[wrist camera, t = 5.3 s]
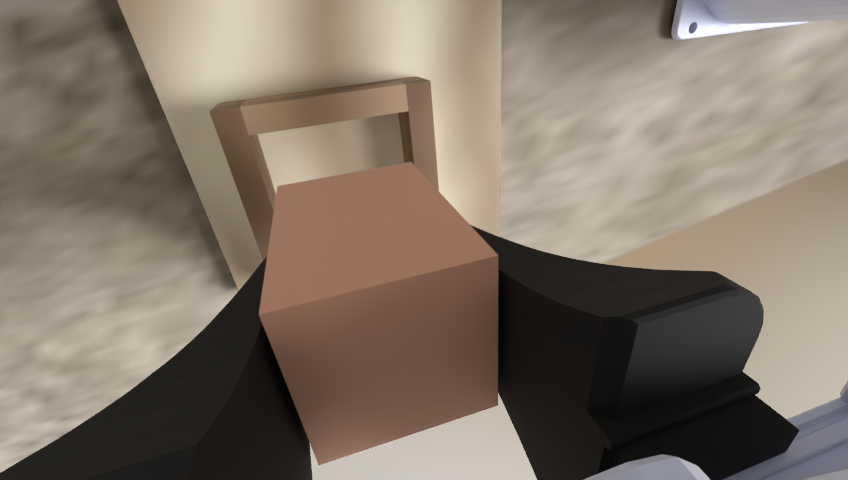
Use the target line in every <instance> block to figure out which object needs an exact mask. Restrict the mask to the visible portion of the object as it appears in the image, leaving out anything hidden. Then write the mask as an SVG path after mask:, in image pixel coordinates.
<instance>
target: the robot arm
mask: <svg viewBox="0 0 848 480" xmlns="http://www.w3.org/2000/svg"><path fill="white" fill-rule="evenodd" d="M845 20H848V0H677V5H676V10H675V15H674V20H673V24H672V29H671V35H672V38H673V39H676V40H684V39H691V38H699V37H706V36H714V35H721V34H729V33H736V32H744V31H751V30H758V29H766V28H773V27H781V26H788V25H796V24H803V23H807V22H816V21H845ZM690 25H691V27H690ZM689 27H690V30H689ZM471 227H472V228H473V229H474V230H475V231H476V232H477V233H478V234H479V235H480V236H481V237H482V238H483V239H484V240H485V242H486V243H487V244H488V245H489V246H490V247H491V248H492V249H493V250H494V251H495V252H496V253H497V254H498V393H499V395H500V397H501V399H502V401H503V403H504V405H505V407H506V410H507V412H508V414H509V416H510V419H511V421H512V423H513V425H514V427H515V430H516V432H517V434H518V436H519V438H520V441H521V443H522V445H523V448H524V450H525V452H526V455H527V457H528V459H529V461H530V464H531V466H532V468H533V471H534V473H535V475H536V478H537V480H848V382H847V383H846V385H845V386H844V388H843V389H842V391H841V393H840V394H841V397H840V398H838V399H835V400H833V401H830V402H828V403H825V404H823V405H821V406H818V407H816V408H813V409H811V410H808V411H806V412H804V413H802V414H799V415H796V416H794V417H792V418H789V419H787V420H786V419H785V418H784V417H782V416H781V415H780V414H778V413H777V412H776V411H775V410H773V409H772V408H771V407H770V406H768V405H767V404H765V403H764V402H763V401H762V400H761V399H759V398H758V397H757V396H755V394H757V393H758V392H759V390H760V387H759V384H758V383H757V382H755V381H754V380H753V379H752V378H750V377H749V376H747V375H746V374H745V373H743V372H742V371H743V369H744V367H745V364H746V362H747V360H748V358H749V356H750V353H751V351H752V349H753V347H754V345H755V343H756V341H757V338H758V336H759V333H760V331H761V328H762V325H763V312H764V311H763V306H762V304H761V302H760V299H759V297H758V296H756V295H755V294H753V293H752V292H751V291H749V290H747V289H745V288H744V287H742V286H740V285H738V284H737V283H735V282H733V281H731V280H729V279H728V278H726V277H724V276H722V275H721V274H719V273H716V272H712V271H679V270H654V269H643V268H632V267H631V268H630V267H621V266H614V265H606V264H599V263H594V262H588V261H582V260H576V259H571V258H567V257H562V256H558V255H554V254H550V253H546V252H542V251H539V250H536V249H532V248H529V247H526V246H523V245H520V244H517V243H514V242H511V241H509V240H506V239H503V238H501V237H498V236H496V235H493V234H491V233H488V232H486V231H484V230H481V229H479V228H476V227H474V226H472V225H471ZM266 261H267V257H266V258H265V259H264V260H263V261H262V263H261V264H260V265H259V266H258V268H257V269H256V270H255V271H254V273H253V274H252V275H251V276H250V278H249V279H248V280H247V281H246V283H245V284H244V285H243V286H242V288H241V289H240V290H239V291H238V292H237V294H236V295H235V296H234V297H233V298H232V300H231V301H230V302H229V303H228V304H227V305H226V306H225V307H224V308H223V309H222V310H221V312H220V313H219V314H218V315H217V316H216V317H215V318H214V319H213V320H212V321H211V322H210V324H209V325H208V326H207V327H206V328H205V329H204V330H203V331H201V332H200V333H199V334H198V335H197V336H196V337H195V338H194V339H193V340H192V341H191V342H190V343H189V344H187V345H186V346H185V347H184V348H183V349H182V350H181V351H180V352H178V353H177V354H176V355H175V356H174V357H173V358H171V359H170V360H169V361H168V362H166V363H165V364H164V365H163V366H161V367H160V368H159V369H157V370H156V371H155V372H154V373H152V374H151V375H150V376H148V377H147V378H146V379H145V380H143V381H142V382H141V383H139V384H138V385H137V386H136V387H134V388H133V389H132V390H130V391H129V392H128V393H126V394H125V395H123V396H122V397H120V398H119V399H118V400H116V401H115V402H113V403H112V404H110V405H109V406H108V407H106V408H105V409H103V410H102V411H100V412H99V413H97V414H96V415H94V416H93V417H91V418H90V419H88V420H87V421H85V422H84V423H82V424H80V425H79V426H77V427H76V428H74V429H73V430H71V431H70V432H68V433H66V434H65V435H63V436H62V437H60V438H59V439H57V440H55V441H54V442H52V443H50V444H49V445H47V446H45V447H43V448H42V449H40V450H38V451H37V452H35V453H33V454H32V455H30V456H28V457H27V458H25V459H23V460H21V461H20V462H18V463H16V464H15V465H13V466H11V467H10V468H8V469H6V470H5V471H3V472H1V473H0V480H312V470H311V456H310V443H309V439H308V437H307V434H306V432H305V429H304V427H303V424H302V422H301V419H300V417H299V414H298V412H297V409H296V407H295V404H294V402H293V399H292V397H291V394H290V392H289V389H288V387H287V384H286V382H285V379H284V377H283V374H282V372H281V369H280V367H279V364H278V362H277V359H276V357H275V354H274V351H273V349H272V346H271V344H270V341H269V339H268V336H267V334H266V331H265V329H264V326H263V324H262V321H261V319H260V316H259V309H260V302H261V295H262V289H263V282H264V275H265V268H266Z"/></svg>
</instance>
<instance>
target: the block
mask: <svg viewBox="0 0 848 480" xmlns="http://www.w3.org/2000/svg"><path fill="white" fill-rule="evenodd" d="M259 316H260V319H261V321H262V324H263V326H264V329H265V331H266V334H267V336H268V339H269V341H270V344H271V346H272V349H273V351H274V354H275V357H276V359H277V362H278V364H279V367H280V369H281V372H282V374H283V377H284V379H285V382H286V384H287V387H288V389H289V392H290V394H291V397H292V399H293V402H294V404H295V407H296V409H297V412H298V414H299V417H300V419H301V422H302V424H303V427H304V429H305V432H306V434H307V437H308V439H309V442H310V444H311V447H312V449H313V452H314V454H315V457H316V459H317V462H318V464H319V465H321V464H324V463H327V462H330V461H333V460H336V459H339V458H342V457H344V456H348V455H351V454H353V453H357V452H359V451H363V450H365V449H369V448H371V447H375V446H378V445H381V444H383V443H387V442H390V441H393V440H396V439H399V438H402V437H405V436H407V435H410V434H413V433H416V432H420V431H423V430H426V429H428V428H432V427H434V426H438V425H441V424H444V423H447V422H449V421H452V420H455V419H458V418H461V417H464V416H467V415H470V414H473V413H476V412H479V411H482V410H485V409H488V408H491V407H494V406H497V405H498V254H497V253H496V252H495V251H494V250H493V249H492V248H491V247H490V246H489V245H488V244H487V243H486V242H485V240H484V239H483V238H482V237H481V236H480V235H479V234H478V233H477V232H476V231H475V230H474V229H473V228H472V227H471V225H470V224H469V223H468V222H467V221H466V220H465V219H464V218H463V217H462V216H461V215H460V214H459V213H458V211H457V210H456V209H455V208H454V207H453V206H452V205H451V204H450V203H449V202H448V201H447V200H446V199H445V198H444V196H443V195H442V194H441V193H440V192H439V191H438V190H437V189H436V188H435V187H434V186H433V185H432V184H431V182H430V181H429V180H428V179H427V178H426V177H425V176H424V175H423V174H422V173H421V172H420V171H419V170H418V169H417V167H416V166H415V165H414V164H413V163H412V162H407V163H402V164H396V165H391V166H385V167H380V168H374V169H369V170H363V171H358V172H352V173H347V174H341V175H336V176H330V177H325V178H319V179H314V180H308V181H302V182H297V183H291V184H286V185H280V186H277V193H276V199H275V206H274V213H273V220H272V227H271V234H270V241H269V247H268V254H267V261H266V268H265V275H264V282H263V289H262V295H261V302H260V309H259Z"/></svg>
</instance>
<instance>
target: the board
mask: <svg viewBox="0 0 848 480" xmlns="http://www.w3.org/2000/svg"><path fill="white" fill-rule="evenodd" d="M117 1H118V3H119V6H120V8H121V11H122V13H123V15H124V18H125V20H126V23H127V25H128V27H129V30H130V32H131V35H132V37H133V39H134V42H135V44H136V47H137V49H138V51H139V54H140V56H141V58H142V61H143V63H144V66H145V68H146V70H147V73H148V75H149V78H150V80H151V82H152V85H153V87H154V90H155V92H156V94H157V97H158V99H159V102H160V104H161V106H162V109H163V111H164V114H165V116H166V118H167V121H168V123H169V125H170V128H171V130H172V133H173V135H174V137H175V140H176V142H177V145H178V147H179V149H180V152H181V154H182V157H183V159H184V161H185V164H186V166H187V169H188V171H189V173H190V176H191V178H192V181H193V183H194V185H195V188H196V190H197V193H198V195H199V197H200V200H201V202H202V204H203V207H204V209H205V212H206V214H207V216H208V219H209V221H210V224H211V226H212V228H213V231H214V233H215V236H216V238H217V240H218V243H219V245H220V248H221V250H222V252H223V255H224V257H225V260H226V262H227V264H228V267H229V269H230V271H231V274H232V276H233V279H234V281H235V283H236V286H237V288H238V291H239V290H240V289H241V288H242V286H243V285H244V284H245V283H246V281H247V280H248V279H249V278H250V276H251V275H252V274H253V273H254V271H255V270H256V269H257V268H258V266H259V265H260V264H261V263H262V261H263V260H264V259H265V258H266V257H267V254H268V247H269V241H270V234H271V227H272V220H273V213H274V206H275V199H276V193H277V186H280V185H286V184H291V183H297V182H302V181H308V180H314V179H319V178H325V177H330V176H336V175H341V174H347V173H352V172H358V171H363V170H369V169H374V168H380V167H385V166H391V165H396V164H402V163H407V162H412V163H413V164H414V165H415V166H416V167H417V169H418V170H419V171H420V172H421V173H422V174H423V175H424V176H425V177H426V178H427V179H428V180H429V181H430V182H431V184H432V185H433V186H434V187H435V188H436V189H437V190H438V191H439V192H440V193H441V194H442V195H443V196H444V198H445V199H446V200H447V201H448V202H449V203H450V204H451V205H452V206H453V207H454V208H455V209H456V210H457V211H458V213H459V214H460V215H461V216H462V217H463V218H464V219H465V220H466V221H467V222H468V223H469V224H470V225H472V226H474V227H476V228H479V229H481V230H484V231H486V232H488V233H491V234H493V235H496V236H498V237H500V175H501V48H502V0H117Z"/></svg>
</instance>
